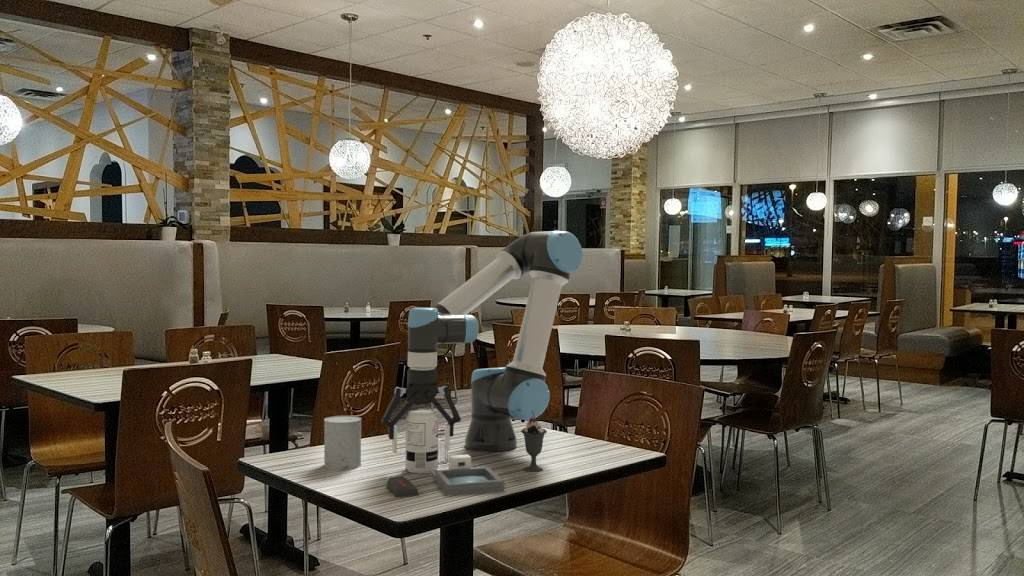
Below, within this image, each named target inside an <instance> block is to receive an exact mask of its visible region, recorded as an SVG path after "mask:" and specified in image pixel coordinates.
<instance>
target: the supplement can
mask: <svg viewBox="0 0 1024 576" xmlns="http://www.w3.org/2000/svg"><path fill="white" fill-rule="evenodd" d="M407 413H408V414H406V417H405V469H406V470H407V471H408V472H409V473H413V474H431V472H435V470H438V468H439V417H438V415H437V413H436V411H435V410H431V409H414V410H409V411H407Z"/></svg>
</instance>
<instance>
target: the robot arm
mask: <svg viewBox="0 0 1024 576" xmlns="http://www.w3.org/2000/svg"><path fill="white" fill-rule="evenodd" d="M579 241H580V240H579V239H578V238H577V237H576V236H575V235H574V234H573V233H572V232H569V231H566V230H564V231H562V230H549V231H548V230H547V231H531V232H528V233H526V234H523V235H521V236H520V237H518V238H517V239H515V240H514V241H512V242H511V243H509V244H508V245H507V246H505V247H504V248H502V249H501V250H500V251H499V252H498V253H497V254H496V258H495V259H494V260H493V261H491V262H490V263H488V265H486V266H485V267H483V268H482V269H481V270H479V271H478V272H476V274H474V275H473V276H472V277H470V279H468V280H466V281H465V282H464V283H463V284H461V285H460V286H458V287H457V288H455V290H454V291H452V292H450V294H447V296H446V297H445V298H443V299H441V300H440V301H439V302H438V303H436V304H435V305H433V306H432V307H412V308H410V309H409V312H408V316H407V317H408V320H407V321H408V322H407V367H409V368H408V369H407V373H406V375H407V382H406V387H399V386H395V387H394V390H393V392H394V393H393V396H392V398H391V400H390V401H389V404H388V406H387V407H386V410H385V411H384V413H383V416H382V418H381V420H380V421H381V423H382V424H383V425H384V426H387V427H388V428H387V429H388V430H387V431H388V434H387V435H388V439H389V440H391V444H392V445H391V448H392V449H391V450H392V453H393V454H397V452H398V426H397V425H396V424H398V422H399V420H401V418H402V417H403V416H404V415H405V413H407V412H408V410H409V409H410V408H411V407H412V406H413V405H416V406H420V405H430V404H432V405H433V406H434V407H435V409H436V410H437V411H438V413H440V414H441V416H442V417H443V418H444V419H445V420H446V422H445V423H444V439H443V440H444V442H443V443H444V444H443V445H444V447H443V448H444V450H445V451H450V444H451V443H450V440H451V438H450V437H453V436H454V432H455V431H454V428H455V426H454V425H455V424H456V423H459V422H461V420H462V417H461V416H460V414H459V412H458V409H457V408H456V406H455V404H454V402H453V400H452V397H451V396H450V388H449V386H447V385H443V386H441V387H440V386H439V387H438V385H437V383H438V382H437V381H438V380H437V379H438V370H437V369H436V368H437V366H438V345H444V344H464V345H465V344H469V343H473V342H475V340H477V338H478V336H479V334H480V333H479V328H480V326H479V321H478V320H477V317H476V316H474V315H472V314H470V313H471V312H472V311H473V310H474V309H476V308H477V307H479V306H480V305H481V304H482V303H483V302H484V301H486V300H487V299H488V298H489V297H491V296H492V295H493V294H495V293H496V292H498V291H499V290H500V289H501V288H502V287H504V286H505V285H506V284H508V283H509V282H510V281H511V280H518V279H520V278H521V277H522V276H524V275H526V274H529V275H530V277H531V279H532V281H531V286H530V289H529V292H528V296H527V301H526V305H525V310H524V313H523V318H522V322H521V326H520V330H519V334H518V338H517V342H516V347H515V351H514V355H513V358H512V361H511V362H510V363H507V364H506V366H504V367H503V366H502V367H501V366H500V367H489V368H477V369H474V370H473V372H472V373H471V380H470V381H471V382H470V385H471V386H470V387H471V389H470V390H471V391H470V392H471V395H470V396H471V397H470V398H471V401H470V402H471V403H470V404H471V405H470V406H471V407H470V409H471V410H470V411H471V414H470V417H471V419H470V423H469V426H468V427H467V428H468V429H467V432H466V434H465V439H464V448H466V449H469V450H472V451H476V450H477V452H488V453H489V452H490V453H491V452H492V453H493V452H504V451H505V452H506V451H510V449H511V450H513V449H516V448H517V445H518V443H517V440H518V439H517V436H516V435H517V434H516V432H515V429H514V425H513V423H512V418H514V419H517V420H524V421H525V420H526V421H530V418H532V416H533V418H534V416H535V419H536V418H538V417H539V416H541V415H542V414H543V413H544V412H545V410H546V409H547V407H548V405H549V402H550V394H551V393H550V390H549V386H548V384H547V383H546V378H547V374H546V373H545V370H544V369H543V367H544V363H545V359H546V354H547V350H548V346H549V342H550V338H551V334H552V333H551V332H552V329H553V325H554V322H555V316H556V313H557V307H558V304H559V300H560V296H561V291H562V288H563V286H564V285H566V284H568V283H569V281H570V276H571V274H572V273H573V272H575V271H576V270H577V269H579V267H580V266H581V264H582V260H583V248H582V246H581V245H582V244H580V242H579ZM438 393H440V395H441V396H443V398H444V401H445V402H446V405H447V407H448V409H449V411H450V412H451V415H452V417H451V416H450V414H448V412H447V411H446V410H445V409H444V408H443V407H442V405H441V404H440V403H439V401H438V400H437V399H436V396H437V395H438ZM404 394H406V395H407V399H405V401H404V402H403V404H402V405H401V406H400V407H399V409H398V410H397V411H396V412H395V413H394V411H395V408H396V406H397V405H398V403H399V401H400V399H401V397H403V396H404ZM532 411H533V413H534V414H533V413H532ZM393 413H394V414H393ZM392 415H393V416H392ZM515 447H516V448H515Z"/></svg>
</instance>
